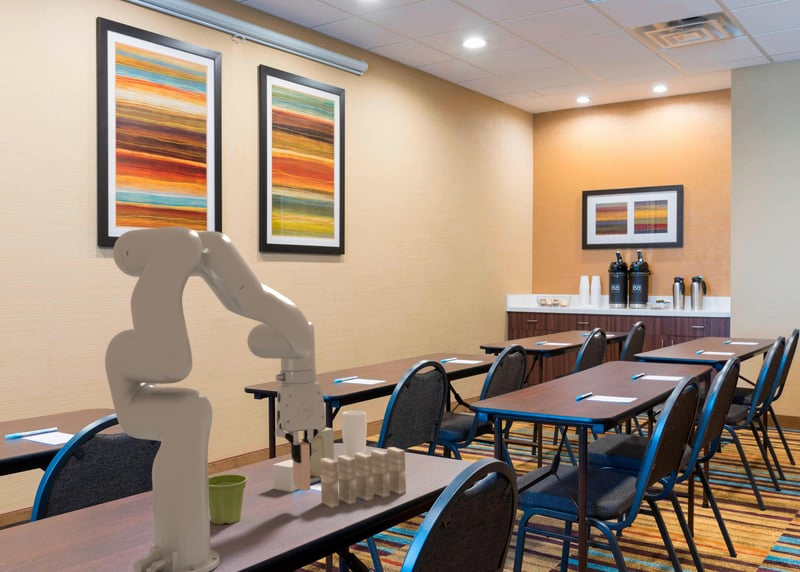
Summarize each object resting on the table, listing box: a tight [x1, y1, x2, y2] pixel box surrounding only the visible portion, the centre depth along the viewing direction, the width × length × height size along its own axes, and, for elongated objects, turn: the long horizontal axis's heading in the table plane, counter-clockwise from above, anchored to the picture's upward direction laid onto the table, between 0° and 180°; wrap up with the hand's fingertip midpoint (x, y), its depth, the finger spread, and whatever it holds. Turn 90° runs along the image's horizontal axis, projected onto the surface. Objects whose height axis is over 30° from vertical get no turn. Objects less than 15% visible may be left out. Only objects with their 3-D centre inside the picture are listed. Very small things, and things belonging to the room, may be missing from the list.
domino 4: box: [355, 452, 374, 502], centre depth 175 cm, size 2×5×10 cm, turn 32°
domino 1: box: [293, 439, 311, 492], centre depth 167 cm, size 2×5×10 cm, turn 31°
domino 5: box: [370, 449, 391, 499], centre depth 177 cm, size 2×5×10 cm, turn 32°
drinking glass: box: [340, 410, 368, 458], centre depth 203 cm, size 7×7×15 cm
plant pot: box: [208, 473, 249, 525], centre depth 161 cm, size 9×9×9 cm
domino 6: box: [386, 446, 407, 495], centre depth 179 cm, size 2×5×10 cm, turn 32°
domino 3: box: [337, 454, 357, 505], centre depth 172 cm, size 2×5×10 cm, turn 32°
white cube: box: [272, 459, 300, 493], centre depth 186 cm, size 6×6×6 cm
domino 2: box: [320, 458, 340, 509], centre depth 170 cm, size 2×5×10 cm, turn 32°
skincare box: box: [310, 426, 335, 478], centre depth 197 cm, size 6×4×12 cm
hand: (301, 460), depth 167 cm, fingers closed on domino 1, 1 cm apart
